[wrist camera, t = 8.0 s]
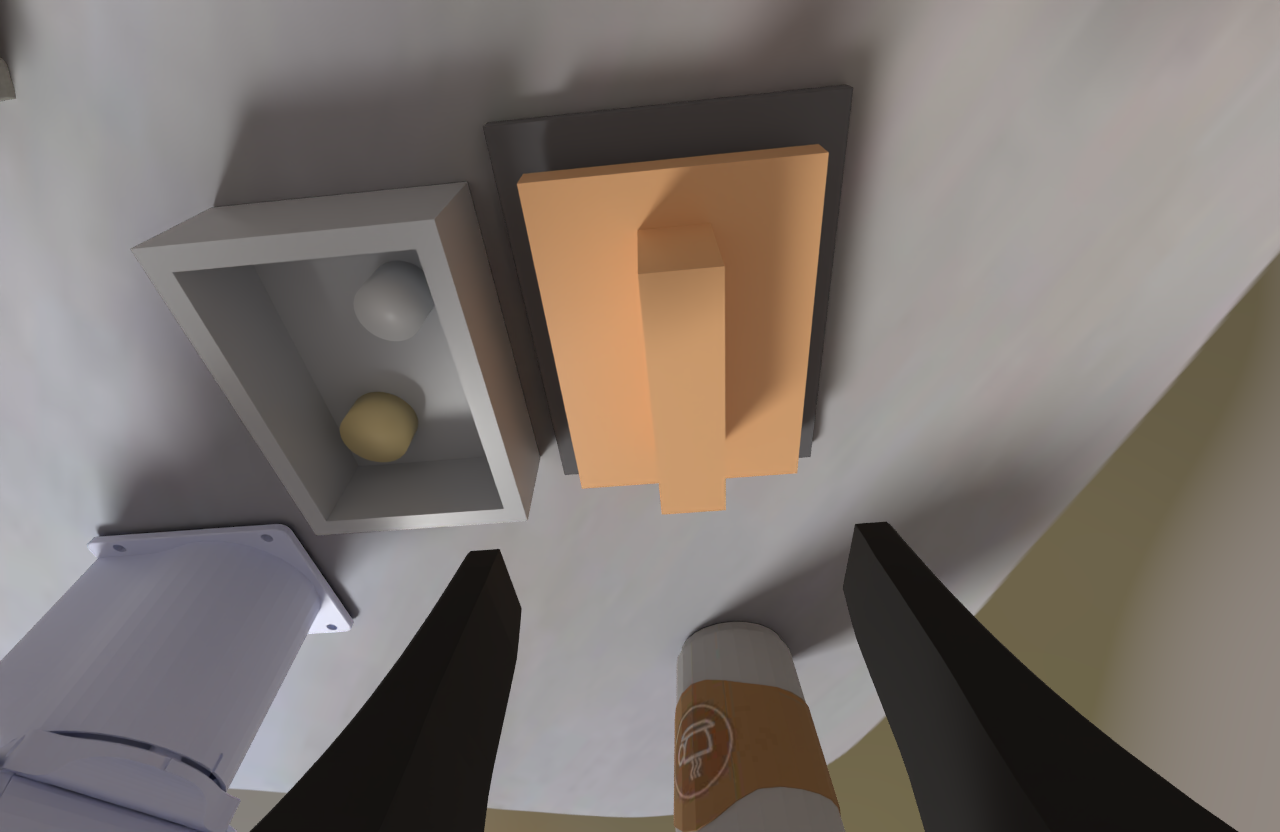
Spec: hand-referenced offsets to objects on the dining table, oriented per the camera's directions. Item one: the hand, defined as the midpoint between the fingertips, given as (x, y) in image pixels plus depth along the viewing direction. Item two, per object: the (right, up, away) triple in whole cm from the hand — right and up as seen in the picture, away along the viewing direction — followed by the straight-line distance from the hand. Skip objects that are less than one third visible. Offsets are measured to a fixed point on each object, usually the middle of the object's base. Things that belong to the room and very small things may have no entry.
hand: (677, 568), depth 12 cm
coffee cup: (+5, -10, +21) cm, 24 cm away
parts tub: (-9, +5, +9) cm, 14 cm away
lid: (+1, +6, +8) cm, 10 cm away
